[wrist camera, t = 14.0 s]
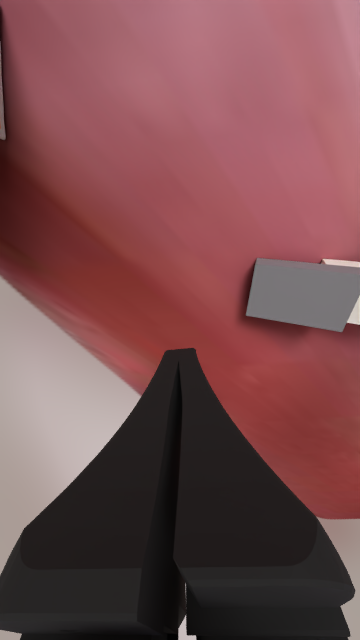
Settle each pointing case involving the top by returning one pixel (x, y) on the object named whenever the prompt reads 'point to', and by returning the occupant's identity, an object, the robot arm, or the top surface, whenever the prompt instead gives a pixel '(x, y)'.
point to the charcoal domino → (304, 293)
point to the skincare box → (1, 106)
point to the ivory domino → (356, 317)
